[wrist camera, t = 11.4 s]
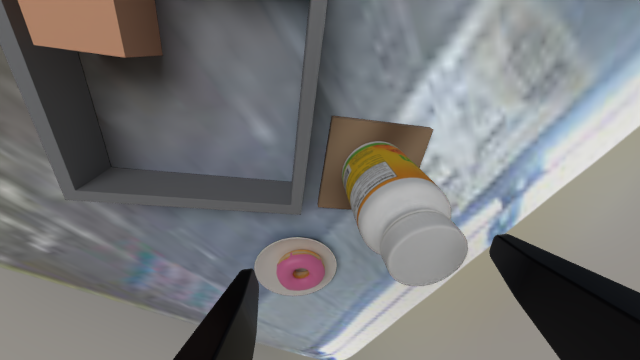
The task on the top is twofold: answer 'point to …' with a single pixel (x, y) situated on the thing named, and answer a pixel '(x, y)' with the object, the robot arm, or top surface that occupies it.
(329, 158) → the walnut coaster
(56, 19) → the terracotta cube
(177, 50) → the top surface
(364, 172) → the supplement bottle
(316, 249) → the donut
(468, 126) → the top surface
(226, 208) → the bin rim
